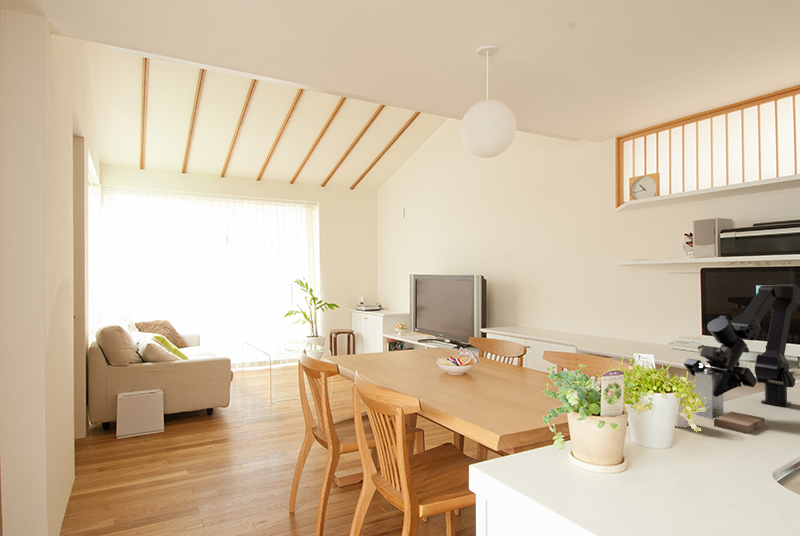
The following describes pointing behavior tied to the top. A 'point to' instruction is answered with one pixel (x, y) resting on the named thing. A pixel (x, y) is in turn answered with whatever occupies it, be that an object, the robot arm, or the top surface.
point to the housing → (709, 393)
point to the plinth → (739, 422)
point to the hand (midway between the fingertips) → (706, 393)
